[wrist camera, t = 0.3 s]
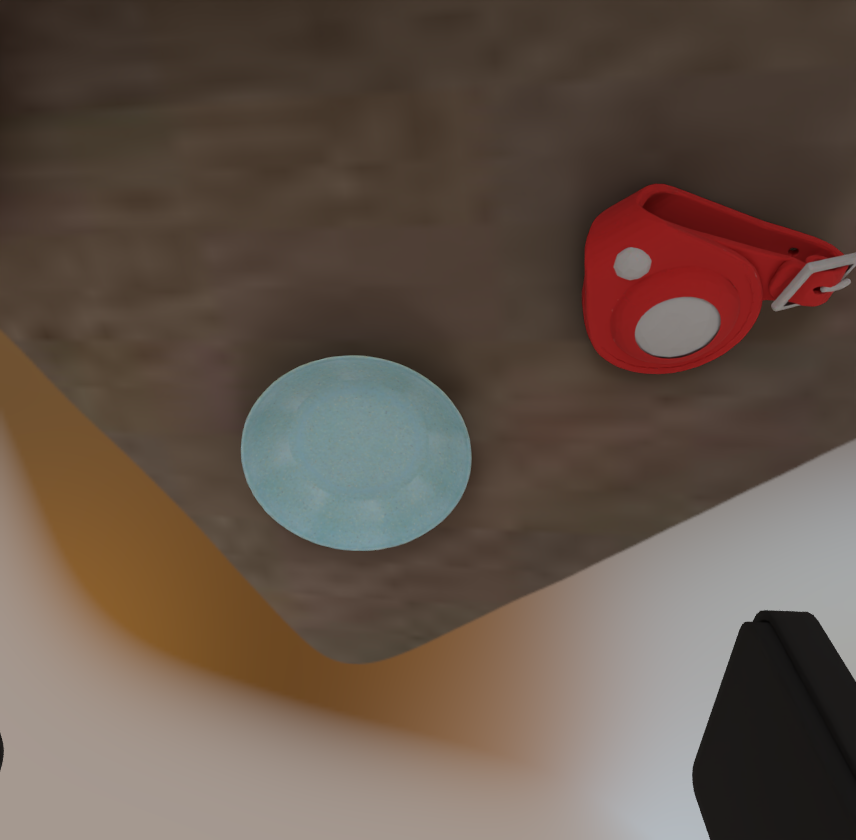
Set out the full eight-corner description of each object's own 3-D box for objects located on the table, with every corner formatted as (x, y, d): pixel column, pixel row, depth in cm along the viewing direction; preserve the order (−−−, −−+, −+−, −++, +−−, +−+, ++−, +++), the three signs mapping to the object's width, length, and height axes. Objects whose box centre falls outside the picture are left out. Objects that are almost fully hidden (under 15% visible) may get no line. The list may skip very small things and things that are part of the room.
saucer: (253, 523, 47) (247, 549, 45) (241, 332, 41) (232, 352, 39) (460, 529, 47) (463, 554, 45) (477, 341, 41) (480, 361, 39)
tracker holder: (641, 416, 42) (535, 300, 36) (628, 356, 45) (528, 238, 39) (888, 307, 36) (810, 146, 31) (855, 245, 39) (778, 88, 33)
